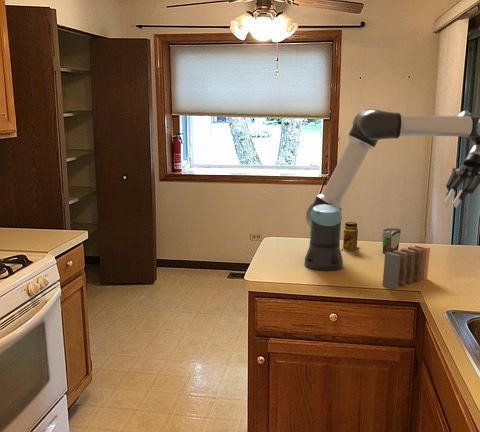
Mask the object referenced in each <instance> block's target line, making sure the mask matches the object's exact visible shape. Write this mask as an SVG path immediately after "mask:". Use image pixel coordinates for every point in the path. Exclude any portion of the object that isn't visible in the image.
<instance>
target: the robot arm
mask: <svg viewBox="0 0 480 432" xmlns="http://www.w3.org/2000/svg"><path fill="white" fill-rule="evenodd" d="M402 136H403V137H467V138H468V139H469V140H470V141H472V142H473V146H472V148H471V149H470V150H469V152H468V154H467V156H465V157H466V158H465V160H464V161H463V164H462V165H461V166H459V168H456V167H453V168H452V171H451V174H450V176H449V179H448V181H447V182H446V184H445V187H446V189H447V192H446V195H445V199H444V200H443V203H444V205H445V207H448V206H449V205H450V203H451V201H452V200H453V198H454V197H455V195H456V190H457V189H458V188H459V187H460V185H461V184H462V183H463V182H464V181H465V182H464V186H463V188H462V189H460V190H459V191H458V193H457V195H456V197H455V198H454V200H453V202H452V204H453V206H454V208H458V207H459V205H460V203H461V201H463V200H465V197H466V196H467V195H468V194H470V195H472V194H473V193H474V192H475V191H476V189H477V188H478V187H479V185H480V116H478V115H476V116H475V115H473V113H471V112H470V111H468V110H465V109H464V110H462V111H461V112H460V113H459V114H457V115H403V114H402V113H401V112H392V111H385V110H380V109H374V108H373V109H372V108H369V109H368V108H367V109H363V110H362V111H360V112H359V113H357V114H356V115H355V117H354V118H353V121H352V127H351V129H350V130H349V133H348V134H347V137H348V142H347V145H346V147H345V149H344V150H343V153H342V154H341V157H340V159H339V160H338V163H337V164H336V165H335V168H334V170H333V171H332V174H331V176H330V178H329V180H328V182H327V183H326V186H325V187H324V189H323V191H322V192H321V193H320V194H317V195H316V197H315V199H314V201H313V203H312V204H311V205H309V207H308V208H307V211H306V214H305V215H306V216H305V217H306V222H307V224H308V227H309V228H310V231H309V232H310V234H309V246H308V249H307V252H306V254H305V257H304V262H303V263H304V266H305V267H306V268H308V269H311V270H317V271H329V272H330V271H332V272H333V271H339V270H341V269H342V268H343V267H344V260H343V256H342V252H341V251H342V250H341V248H340V245H341V243H340V242H341V230H342V228H341V227H342V217H343V215H342V209H343V205H342V202H343V200H344V198H345V196H346V194H347V192H348V191H349V188H350V187H351V184H352V182H353V181H354V178H355V177H356V175H357V173H358V171H359V169H360V167H361V166H362V164H363V161H364V160H365V158H366V156H367V154H368V152H369V151H370V150H373V149H375V147H376V145H377V143H378V142H379V141H381V140H387V139H388V140H390V139H399V138H401V137H402Z"/></svg>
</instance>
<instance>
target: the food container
mask: <svg viewBox="0 0 480 432" xmlns="http://www.w3.org/2000/svg"><path fill="white" fill-rule="evenodd" d="M401 229H402V228H397V227H394V228H393V227H391V228H388V227H387V228H383V229H382V231H381V237H382V254H384V255H385V253H386V252H391V253H393V251H394V250H398V251H399V246H400V240H401V239H400V238H401V233H402V232H401V231H402V230H401Z"/></svg>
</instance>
